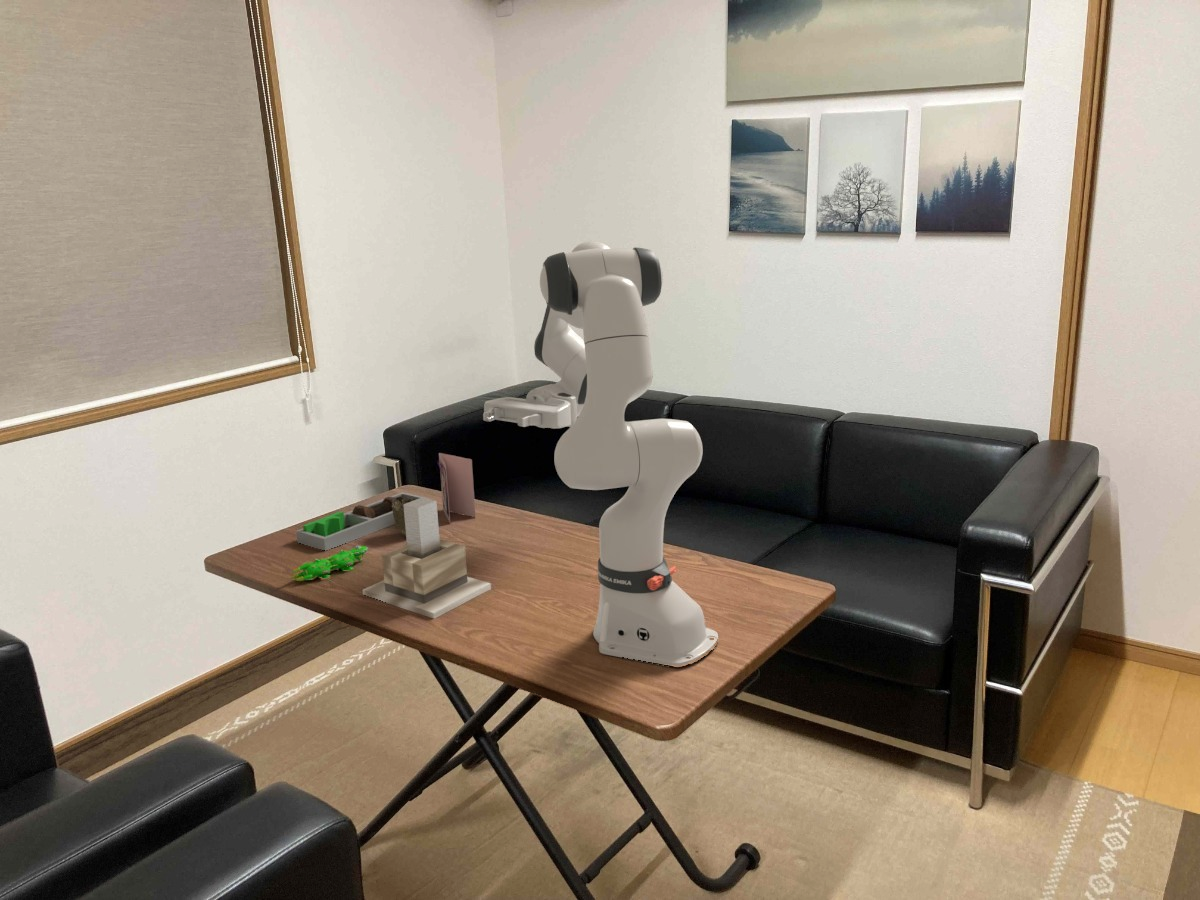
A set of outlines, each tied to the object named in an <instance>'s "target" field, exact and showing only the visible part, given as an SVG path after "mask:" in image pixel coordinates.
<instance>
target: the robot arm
mask: <svg viewBox="0 0 1200 900" xmlns="http://www.w3.org/2000/svg"><path fill="white" fill-rule="evenodd" d="M663 273H664V272H663V268H662V265H661V263H660V260H659V257H658V255H657V254H656V253H654V252H653V251H652V250H651V249H648V248H643V247H633V248H611V247H609V246H608V245H607V244H606V243H603V242H600V241H596V240H595V241H592V240H590V241H584V242H582V243H580V244H578V245H576V246H575V247H574V248H573V250H572V251H571V252H567V253H565V252H564V251H562V252H559V253H554V254H552V255H549V256H547V257H546V258H545V260H544V262H543V263H542V268H541V272H540V275H539V287H540V292H541V294H542V297H543V299H544V301H545V303H546V307H545V312H544V316H543V318H542V319H543V320H542V324H541V327H540V330H539V332H538V334H537V336H536V337H535V341H534V356H535V359H537V360H538V361H539V362H540V363H542V364H543V365H545V366H546V367H548V368H549V369H550V370H551V371H553V372H554V373H555V374H556V375H557V376H558V377H559V378H560V381H557V382H555V383H549V384H545V385H542V386H539V387H536V388H535V387H534V388H533V389H531V390H530V391H529V392H528V393H527V395H526V396H525V398H519V397H514V396H513V397H511V396H506V397H500V398H494V399H489V400H486V401H485V402H484V403H483V404H484V405H483V411H484V412H483V414H482V416H483V418H482V420H483V421H485V422H492V421H495V420H496V421H502V422H509V423H510V422H511V423H515V424H517V426H519V427H523V428H526V427H529V426H534V427H538V428H542V429H545V428H548V429H549V428H550V429H562V428H565V427H569V428H568V429H567V430H566V431H565V432H564V433H563V434H562V435H561V436H560V438H559V440H558V441H557V443H556V446H555V449H554V466H555V470H556V472H557V475H558V477H559V478H560V479H561V481H562V482H563V483H564V484H565V485H566V486H567V487H569V488H570V489H578V490H588V491H589V490H590V491H591V490H592V491H600V490H609V489H617V488H625V487H626V488H627V487H628V489H627V491H625V494H624V495H622V497H621V498H620V499H619V500H618V501H616V502H614V503H613V504H611V505H610V506H609V507H608V508H607V509H606V510H605V511H604V513H603V514H602V516H601V517H600V520H599V525H598V530H599V531H598V532H599V558H598V561H597V579H598V582H599V585H600V586H599V599H598V600H599V601H598V609H597V616H596V621H595V625H594V628H593V631H592V635H593V637H594V639H595V641H596V642H597V643H598V651H599V653H600V654H602V655H607V656H613V657H618V658H622V657H624V659H627V658H628V659H629V660H633V659H635V660H634V661H638V660H641V661H640V662H643V661H646V662H645V663H648V662H652V663H651V664H653V662H654V663H660V664H667V665H668V664H669V665H677V666H679V665H683V664H686V663H689V662H692V661H694V660H696V659H698V658H699V657H701V656H702V655H703V654H705V653H706V652H707V651H708V650H710V649H711V648H712V647H713V646H714V644H715V643H716V641H717V639H718V640H719V634H718V632H717V631H715V630H713V629H712V628H709V627H706V620H705V615H704V612H703V609H702V607H701V606H700V605H699V604H698V603H697V602H696V601H695V600H694V599H693V598H691V597H690V596H689V595H688V594H687V592H685V591H684V590H683V589H682V588H681V587H680V586H679V585H678V584H677V583H676V582H674V581H673V577H672V575H674V574H675V573H676V572H677V570H676V568H677V565H674V566H672V567H669V566H668V564H667V561H666V559H665V557H664V553H663V552H664V529H665V518H666V515H667V512H668V508H669V506H670V503H671V501H672V500H673V498H674V495H675V494H676V492H677V491H678V490H679V488H680V487H681V486H682V484H684V482H685V481H687V479H689V478H690V477H692V475H693V474H695V472H696V471H697V470H698V468H699V466H700V464H701V462H702V459H703V451H704V450H703V442H702V439H701V436H700V434H699V432H698V431H697V429H696V428H695V427H694V425H692V423H690V422H689V421H687V420H682V419H681V420H680V419H672V418H654V419H652V418H651V419H642V420H632V421H626V420H625V412H626V409H627V407H628V404H630V403H631V402H633V401H635V400H636V399H638V398H640V397H641V396H642V395H644V394H645V393H646V392H647V391H648V390H649V388H650V387H651V385H652V382H653V378H654V375H653V374H654V373H653V364H652V356H651V349H650V340H649V339H650V338H649V331H648V324H647V320H646V319H647V318H646V315H645V309H644V307H645V306H648V305H651V304H654V303H655V302H656V301H657V300H658V298H659V297H660V296H661V293H662V287H663V282H664V274H663ZM570 326H572V327H574V328H576V329H581V330H582V333H583V338H582V337H581V336H580V335H579V334H577V333H576V332H575V330H573V328H572V327H570ZM710 638H714V640H710ZM689 657H690V659H687V658H689ZM628 659H627V660H628Z"/></svg>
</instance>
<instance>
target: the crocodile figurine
mask: <svg viewBox="0 0 1200 900" xmlns="http://www.w3.org/2000/svg"><path fill="white" fill-rule="evenodd" d="M367 551H368V546H364V545H359V544H357V545H355V546H354V547H353V548H351V549H350V550H343V549H341V550H339V552H338V553H336V554H334V555H329V556H328V557H326V558H322V557H321V558H320V559H318V558H313V561H305V562H303V563H302V564H301V565H300V566H298V567H295V569H294V570H293V571H292V573H293V575H292V576H291V577H290V579H294V580H295V581H297V582H301V581H302V582H304V581H310V580H311V581H312V580H314V579H316V578H318V577H322V578H327V577H329V576H331V575H329V574H330V573H331V572H332V571H336V570H337V571H339V569H341V570H342V571H343V570H351V569H353V570H354V567H353V565H354V564H355V562H356V560H358V561H360V562H363V561H364V559H363V558H364V556H365V555H366V554H365V553H366V552H367ZM349 565H351V566H349ZM347 566H349V567H347ZM298 572H299V573H298Z"/></svg>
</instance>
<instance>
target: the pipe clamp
mask: <svg viewBox="0 0 1200 900" xmlns="http://www.w3.org/2000/svg"><path fill="white" fill-rule="evenodd" d="M344 513H345V512H344V511H337V512H334V513H332V514H330V515H327V516H324V517H322V518H319V519H316V520H313V521H311V522H308V523H305V524H303V525H302V529H303V531H306V532H310V533H313V534H317V535H320V536H324V537H326V536H328V535H331V534H334V533H336V532H339V531H341V530H344V529H346V527H345V522H344Z"/></svg>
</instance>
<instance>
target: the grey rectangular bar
mask: <svg viewBox="0 0 1200 900" xmlns="http://www.w3.org/2000/svg"><path fill="white" fill-rule="evenodd" d="M423 497H424V496H422V498H419V499H416V500H414V501H411V502H409V503H406V504H403V506H404V517H405V528H406V536H405V537H406V544H407V550H408V555H409V556H412V557H416V558H420V559H423V558H425V557H427V556H430V555H432V554H434V553H436V552H438V551H440V540H441V539H440V527H439V517H438V505H437V504H438V502H437V500H435V499H431V498H430V499H427V498H428V497H426V498H423Z"/></svg>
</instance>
